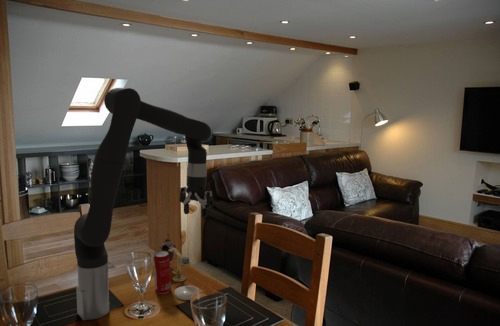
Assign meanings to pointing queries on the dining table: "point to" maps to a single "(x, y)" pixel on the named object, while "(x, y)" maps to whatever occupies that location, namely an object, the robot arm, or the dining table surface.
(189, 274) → the dining table surface
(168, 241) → the sundae
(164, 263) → the beverage can
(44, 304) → the dining table surface
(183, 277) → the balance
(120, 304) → the dining table surface
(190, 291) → the saucer
